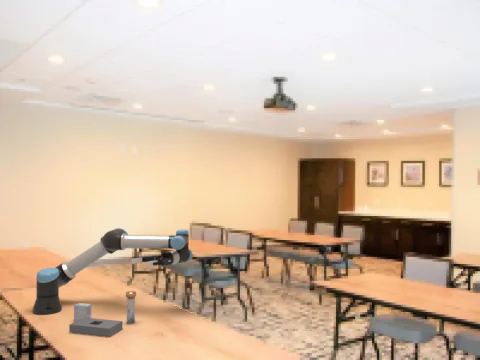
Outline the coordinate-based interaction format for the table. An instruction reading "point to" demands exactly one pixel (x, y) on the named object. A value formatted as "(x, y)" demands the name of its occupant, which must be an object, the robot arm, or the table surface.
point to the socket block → (96, 327)
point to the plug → (130, 307)
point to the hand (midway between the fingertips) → (139, 262)
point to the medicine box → (82, 311)
